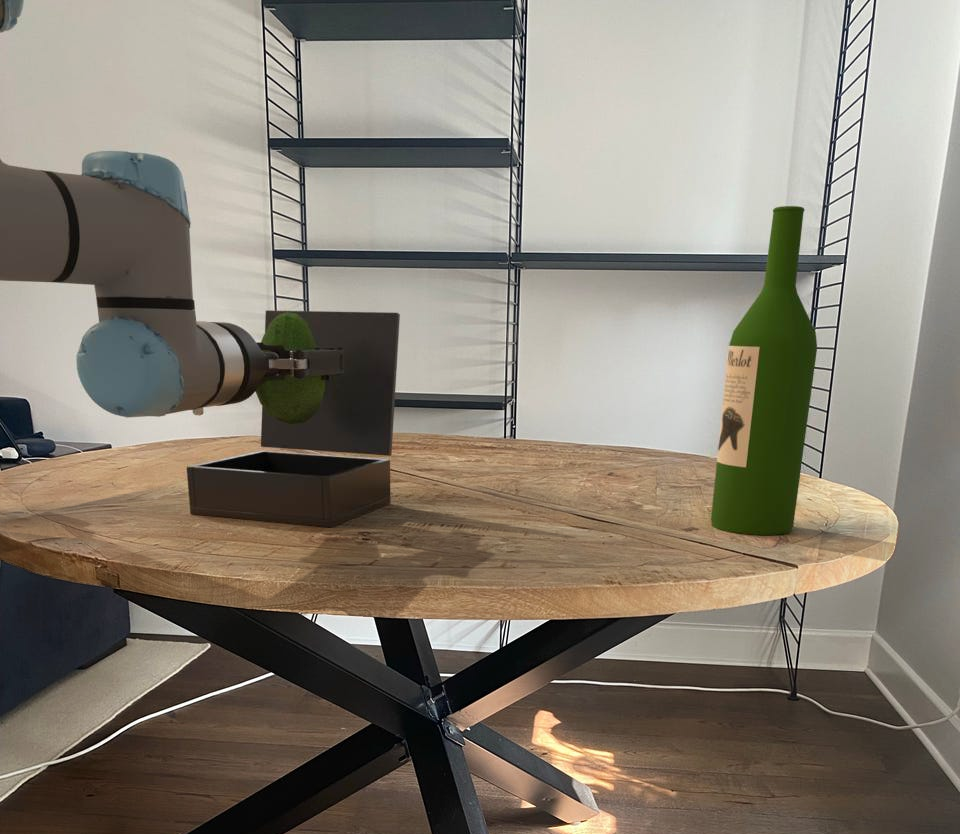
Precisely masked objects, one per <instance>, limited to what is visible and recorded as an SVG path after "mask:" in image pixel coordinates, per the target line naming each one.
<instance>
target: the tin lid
mask: <svg viewBox="0 0 960 834" xmlns="http://www.w3.org/2000/svg"><path fill="white" fill-rule="evenodd" d="M285 312H290V313H294V314H298V315H299V316H300V317H301V318H302V319H303V320H304V321H305V322H306V323H307V324H308V326H309V328H310V331H311V333H312V336H313V339H314V342H315V344H316V347H317V348H329V347H342V350H343V354H344V374H341V375H336V374H334V375H331V380H330V381H329V380H325V390H324V395H323V399H322V404H321V406H320V407H319V409H318V411H317V412H316V414H315V415H314V416H313V417H312V418H311V419H309V420H307V421H306V422H304V423H297V424H287V423H284V422H282V421H279V420H277V419H275V418H274V417H273V416H271V415H270V414H269V413H268V412H267V411H266V410H265V409H264V408H263V406H262V405H261V426H260V427H261V429H260V447H261V448H269V449H285V450H300V451H301V450H302V451H313V452H327V453H328V452H329V453H344V454H357V455H358V454H360V455H371V456H372V455H373V456H386V457H388V456H389V457H392V454H393V439H394V438H393V437H394V436H393V435H394V421H395V419H394V418H395V405H396V403H395V402H396V387H397V370H398V369H397V368H398V351H399V337H400V321H401V320H400V318H401V314H400V313H399V312H387V311H386V312H383V311H382V312H380V311H332V310H331V311H328V310H327V311H325V310H324V311H323V310H321V311H320V310H316V311H315V310H265V320H264V321H265V322H264V333H265V332H266V330H267V328H268V326H269V324H270V323H271V322H272V321H273V320H274V319H275V318H276V317H277V316H278V315H280V314H283V313H285Z"/></svg>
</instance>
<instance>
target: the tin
mask: <svg viewBox="0 0 960 834" xmlns="http://www.w3.org/2000/svg"><path fill="white" fill-rule="evenodd" d="M186 476H187V489H188V500H189V512H190V513H189V514H190V515H196V516H197V515H198V516H206V517H207V516H208V517H218V518H227V519H237V520H248V521H249V520H250V521H258V522H259V521H260V522H269V523H279V524H288V525H289V524H290V525H300V526H309V527H310V526H311V527H319V528H320V527H321V528H328V529H329V528H333V527H336V526H338V525H340V524H343V523H346V522H348V521H351V520H353V519H355V518H358V517H360V516H363V515H365V514H368V513H371V512H373V511H375V510H377V509H380V508H382V507H385V506H387V505H390V504H391V503H392V501H391V500H392V499H391V498H392V497H391V459H386V458H373V457H372V458H371V457H358V456H357V457H356V456H342V455H330V454H318V453H317V454H315V453H302V452H301V453H300V452H288V451H286V452H285V451H274V450H259V451H254V452H250V453H245V454H240V455H235V456H230V457H225V458H221V459H216V460H212V461H206V462H201V463H197V464H193V465H188V466H186Z"/></svg>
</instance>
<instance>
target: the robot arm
mask: <svg viewBox="0 0 960 834" xmlns="http://www.w3.org/2000/svg"><path fill="white" fill-rule="evenodd" d="M24 1H25V0H0V33H4V32H8V31H10V30H12V29H13V28H15V26H17V24H18V18H20V17H21V15H22V12H23V8H24ZM187 200H188V199H187V192H186V188H185V182H184V177H183V174H182V171H181V170H180V168H179V167H178V166H177V164H176V163H175V162H174V161H172V160H170V159H168V158H166V157H163V156H160V155H156V154H151V153H145V152H130V151H124V150H100V151H99V150H98V151H93V152H90V153H88V154H86V155H85V156H84V157H83V158H82V162H81V174H74V173H66V172H58V171H52V170H51V171H50V170H44V169H35V168H29V167H22V166H16V165H9V164H8V163H5V162H3V160H2V159H1V158H0V281H1V282H31V283H32V282H33V283H57V284H73V285H88V286H89V285H90V286H93V287H94V292H95V300H96V308H97V317H98V322H97V323H95V324H93V325H92V326H91V327H89V329H87V331H85V333H84V334H83V336H82V337H81V341H80V343H79V347H78V351H77V352H76V360H75V361H76V371H77V375H78V378H79V380H80V383H81V386H82V387H83V390H84V391H85V392H86V394H87V395H88V397H89V398H90V399H91V401H93V403H94V404H96V405H97V406H98V407H100V408H101V409H103V411H106V412H107V413H109V414H111V415H114V416H118V417H123V418H127V419H128V418H142V417H145V418H146V417H155V418H156V417H158V418H159V417H165V416H166V415H170V414H177V413H182V412H187V411H192V414H193V415H194V416H202V415H203V414H204V408H210V407H211V408H212V407H222V406H228V405H234V404H239V403H242V402H245V401H246V400H248V399H250V397H252V396H253V395H254V394H255V393H256V392H255V391H256V390H257V388H258V387H259V385H260V384H264V383H266V382H267V381H273V380H284V379H285V377H286V376H287V375H291V376H294V377H295V378H298V379H302V378H303V377H308V376H319V375H321V380H329V381H330V380H331V375H334V374H336V375H341V374H344V354H343V350H342V347H329V348H315V350H285V349H284V347H283V346H282V345H265V344H264V343H262V342H261V341H259V342H258V341H256V340H255V339H254V337H253V336H252V335H251V334H250V333H249V332H248V331H247V330H246V329H244V328H243V327H241V326H239V325H237V324H235V323H231V322H226V321H225V322H223V321H221V322H220V321H207V320H206V321H205V320H197V315H196V305H195V300H194V293H193V292H194V290H193V273H192V255H191V254H192V253H191V252H192V251H191V231H190V229H191V224H192V223H191V218H190V213H189V207H188V205H189V204H188V201H187ZM261 350H270V351H271V352H268V351H261Z"/></svg>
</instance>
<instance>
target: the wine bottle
mask: <svg viewBox="0 0 960 834" xmlns="http://www.w3.org/2000/svg"><path fill="white" fill-rule="evenodd" d="M804 212H805V207H804V206H799V205H798V206H797V205H785V206H783V205H782V206H777V207H774V208H773V210H772V220H771V229H770V234H769V235H770V236H769V244H768V251H767V259H766V267H765V274H764V281H763V285H762V288H761V290H760V293H759V294H758V295H757V297H756V298H755V300H754V301H753V303H751V305H750V307H749V308H748V310H747V311H746V313H745V314H744V316H743V317H742V318H741V320H740V321H739V322H738V324H737V325H736V326H735V328H734V330H733V331H732V335H731V337H730V340H729V344H728V348H727V349H728V350H727V359H726V368H725V377H724V378H725V379H724V388H723V397H722V406H721V407H722V408H721V416H720V426H719V436H718V447H717V454H716V464H715V476H714V485H713V494H712V504H711V505H712V506H711V514H710V522H711V526H712V527H714V528H715V529H718V530H721V531H724V532H729V533H735V534H742V535H743V534H744V535H751V536H777V535H778V536H779V535H784V534H788V533H790V532H792V529H793V528H794V525H795V516H796V509H797V501H798V496H799V494H798V493H799V487H800V478H801V473H802V464H803V456H804V450H805V449H804V448H805V441H806V434H807V429H808V428H807V426H808V420H809V411H810V404H811V397H812V390H813V381H814V375H815V367H816V359H817V352H818V342H817V332H816V330H815V327H814V325H813V323H812V321H811V319H810V317H809V315H808V313H807V311H806V309H805V307H804V303H803V302H802V300H801V298H800V296H799V294H798V290H797V277H798V268H799V259H800V250H801V249H800V248H801V240H802V231H803V221H804V214H805V213H804Z"/></svg>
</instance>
